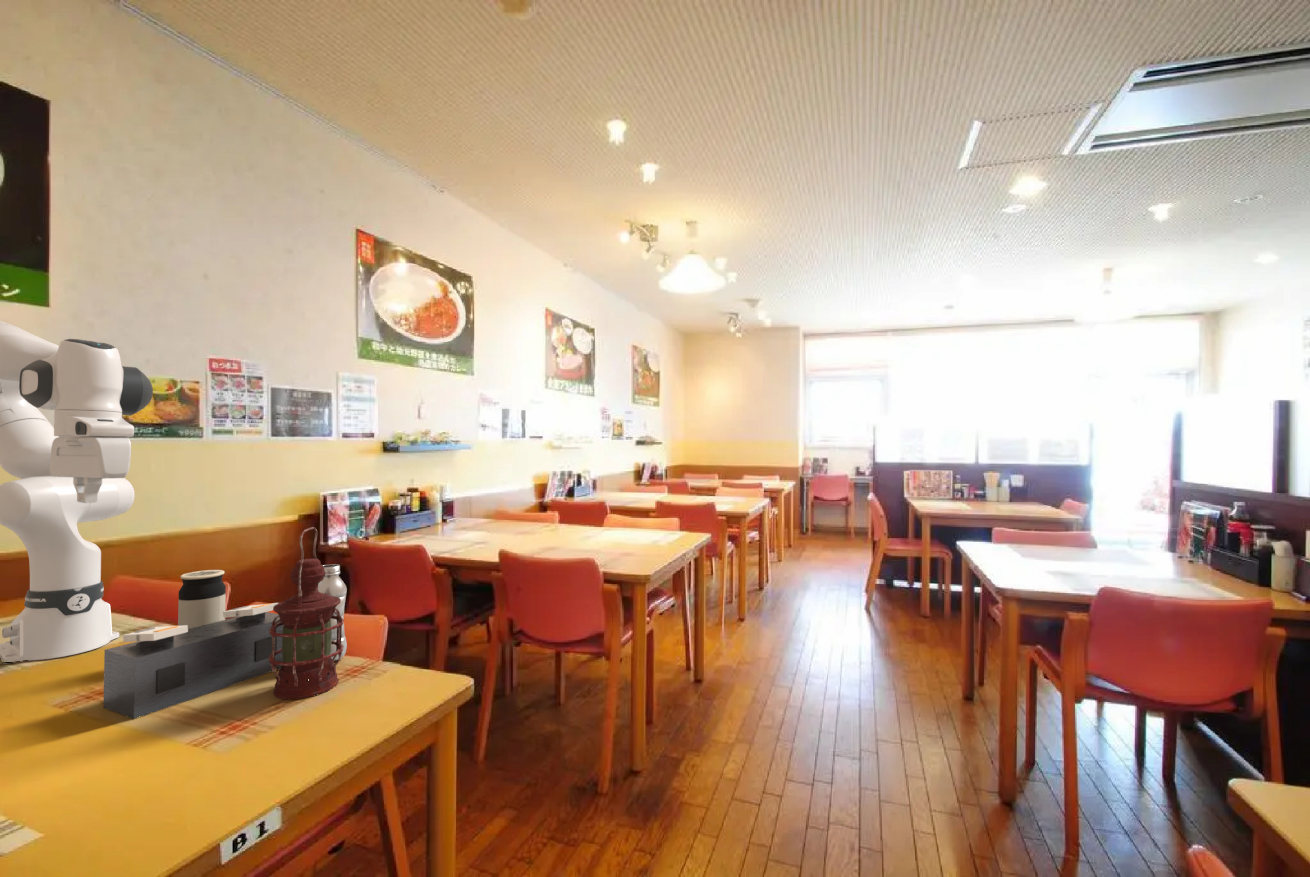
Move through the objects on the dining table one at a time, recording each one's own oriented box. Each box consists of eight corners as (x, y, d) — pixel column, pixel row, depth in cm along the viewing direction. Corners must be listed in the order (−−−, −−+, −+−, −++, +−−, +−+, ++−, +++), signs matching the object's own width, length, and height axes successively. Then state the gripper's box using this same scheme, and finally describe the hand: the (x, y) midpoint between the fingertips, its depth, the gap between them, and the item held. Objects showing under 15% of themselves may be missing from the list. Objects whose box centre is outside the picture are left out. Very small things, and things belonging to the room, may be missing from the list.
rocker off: (223, 617, 115) (222, 611, 115) (249, 611, 119) (248, 605, 120) (253, 615, 111) (252, 608, 111) (279, 608, 115) (278, 602, 116)
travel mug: (223, 658, 121) (224, 574, 121) (174, 666, 116) (176, 579, 117) (225, 648, 127) (227, 568, 128) (179, 655, 123) (181, 572, 123)
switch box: (103, 707, 98) (104, 644, 98) (260, 657, 122) (261, 606, 122) (135, 719, 94) (136, 652, 94) (291, 665, 117) (292, 611, 118)
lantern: (330, 698, 102) (332, 531, 102) (254, 705, 99) (257, 533, 100) (352, 672, 113) (353, 523, 114) (284, 677, 111) (286, 524, 112)
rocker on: (123, 641, 100) (122, 634, 100) (157, 633, 105) (157, 626, 105) (153, 640, 96) (153, 632, 96) (188, 632, 101) (187, 624, 101)
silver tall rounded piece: (331, 667, 116) (332, 569, 117) (303, 664, 117) (304, 568, 118) (353, 656, 122) (354, 563, 123) (326, 653, 124) (328, 562, 124)
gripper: (38, 427, 105) (36, 501, 105) (94, 425, 97) (92, 506, 97) (83, 428, 111) (81, 499, 111) (139, 427, 103) (138, 503, 102)
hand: (87, 502), depth 104 cm, fingers closed
